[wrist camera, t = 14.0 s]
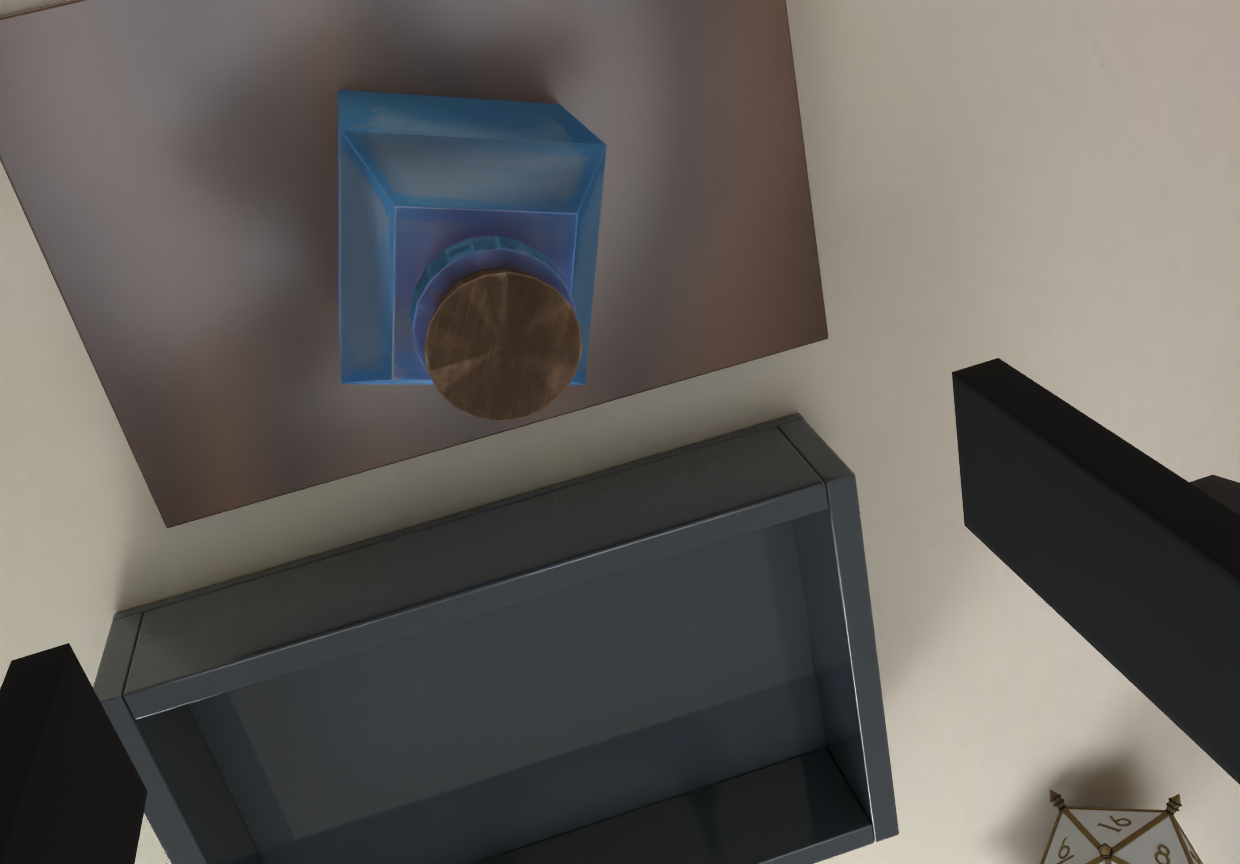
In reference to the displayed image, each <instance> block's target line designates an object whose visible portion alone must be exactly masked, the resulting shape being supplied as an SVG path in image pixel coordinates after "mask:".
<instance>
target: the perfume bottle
mask: <svg viewBox="0 0 1240 864" xmlns="http://www.w3.org/2000/svg"><path fill="white" fill-rule="evenodd" d="M606 146H607V145H606V144H605V143H604V142H603V141H602V140H600V139H599V138H598V137H597V136H596V135H595V134H594V133H592V132H591V131H590V130H589V129H588V128H587V127H585V126H584V125H583V124H582V123H581V122H580V121H579V120H577V119H576V118H575V117H574V116H573V115H572V114H571V113H569V112H568V111H567V110H566V109H565V108H564V107H563V106H561V105H560V104H550V103H534V102H519V101H504V100H488V99H473V98H458V97H442V96H427V95H412V94H396V93H381V92H365V91H350V90H338V316H339V346H340V375H341V384H425V385H435V387H436V389H437V391H438V393H439V394H441V395H442V396H443V397H444V398H445V399H446V400H447V401H448V402H449V403H450V404H451V405H452V406H453V407H454V408H455V409H458V410H460V411H462V412H464V413H466V414H468V415H470V416H472V417H474V418H477V419H484V420H491V421H498V422H503V421H509V420H516V419H523V418H526V417H528V416H530V415H532V414H535V413H537V412H539V411H541V410H543V409H545V408H547V407H548V406H549V405H550V404H551V403H553V402H554V401H555V400H556V399H557V398H558V397H559V396H561V395H562V394H563V393H564V392H565V390H566V389H567V387H568V385H585V381H586V369H587V358H588V347H589V336H590V325H591V314H592V303H593V291H594V280H595V269H596V258H597V247H598V236H599V224H600V213H601V202H602V191H603V180H604V169H605V157H606Z"/></svg>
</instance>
